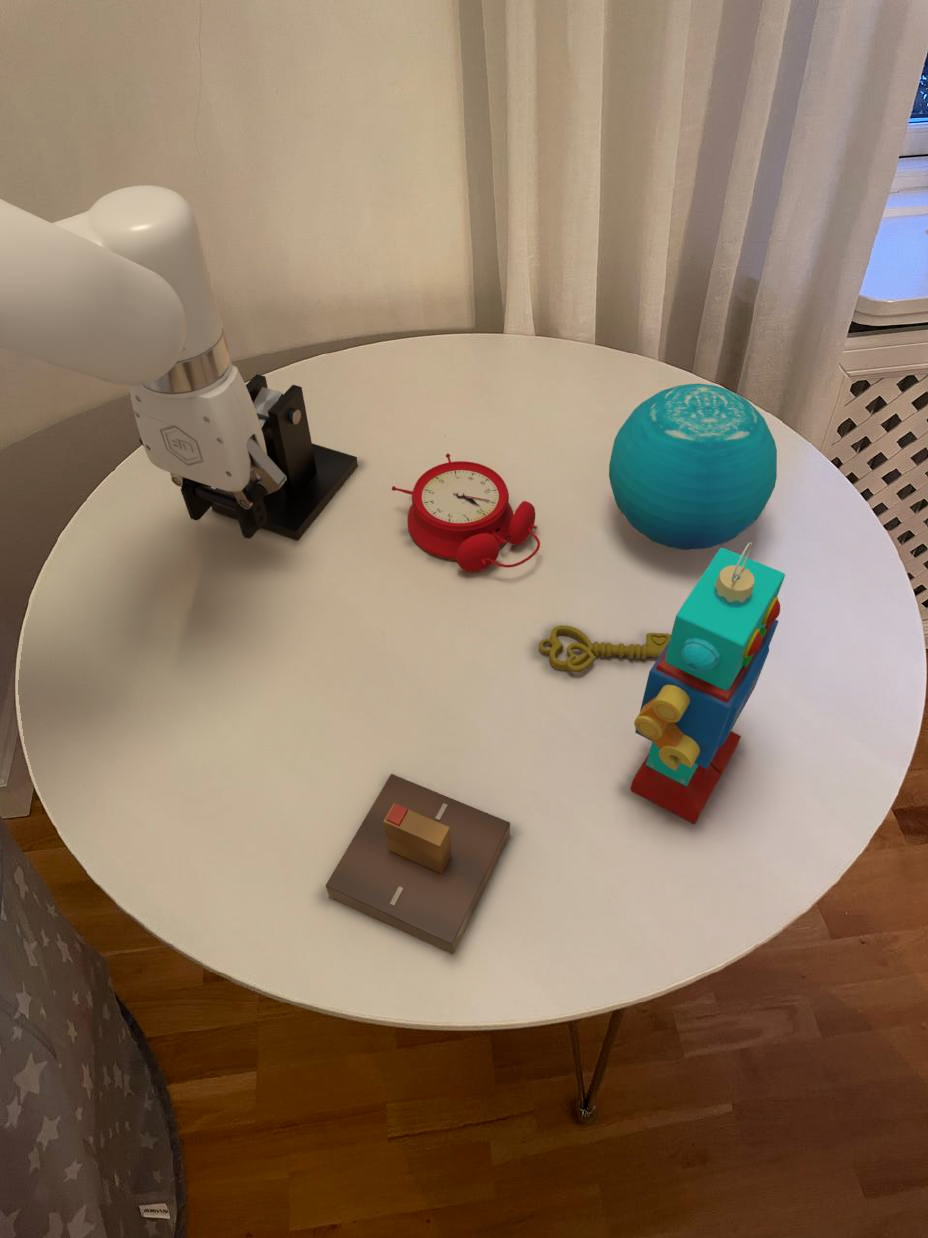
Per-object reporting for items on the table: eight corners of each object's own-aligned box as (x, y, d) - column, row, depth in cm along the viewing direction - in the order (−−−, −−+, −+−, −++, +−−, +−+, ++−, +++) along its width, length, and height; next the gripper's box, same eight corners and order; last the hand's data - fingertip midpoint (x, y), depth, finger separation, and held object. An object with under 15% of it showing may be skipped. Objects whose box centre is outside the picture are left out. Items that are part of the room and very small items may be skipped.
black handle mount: (297, 540, 91) (277, 446, 82) (212, 511, 93) (183, 416, 84) (358, 465, 97) (345, 370, 88) (276, 440, 100) (256, 345, 91)
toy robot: (685, 842, 70) (763, 635, 51) (612, 803, 72) (661, 590, 53) (744, 732, 76) (834, 510, 57) (676, 699, 78) (740, 474, 59)
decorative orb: (603, 580, 87) (622, 456, 75) (598, 472, 96) (614, 347, 85) (767, 586, 86) (811, 461, 74) (745, 477, 96) (782, 351, 84)
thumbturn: (451, 855, 67) (450, 825, 64) (442, 874, 66) (439, 844, 63) (398, 832, 69) (393, 800, 65) (387, 850, 68) (382, 819, 64)
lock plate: (453, 955, 65) (452, 943, 63) (328, 897, 68) (324, 884, 66) (509, 834, 71) (510, 821, 69) (393, 786, 73) (391, 772, 72)
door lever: (244, 517, 85) (234, 504, 83) (199, 501, 86) (188, 488, 84) (303, 411, 89) (295, 396, 86) (258, 397, 90) (249, 382, 88)
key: (676, 628, 81) (679, 675, 78) (674, 637, 82) (677, 684, 79) (540, 621, 82) (537, 667, 79) (539, 630, 83) (537, 675, 80)
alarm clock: (455, 439, 94) (563, 486, 85) (465, 491, 98) (569, 541, 89) (375, 488, 90) (479, 543, 80) (389, 540, 94) (490, 598, 84)
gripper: (63, 355, 74) (131, 519, 88) (244, 410, 69) (285, 574, 83) (123, 306, 78) (178, 470, 92) (297, 354, 73) (328, 519, 87)
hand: (229, 518), depth 87 cm, fingers open, 5 cm apart
